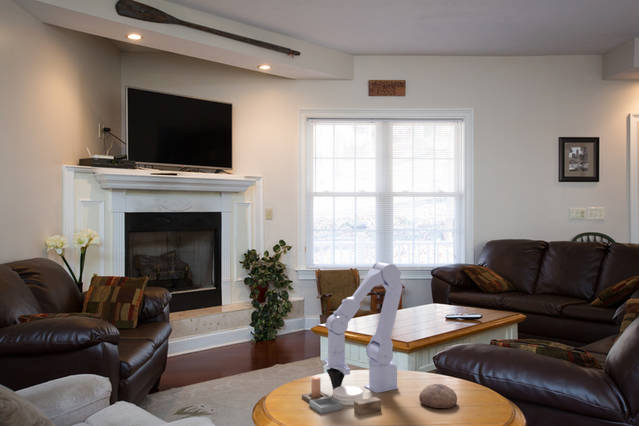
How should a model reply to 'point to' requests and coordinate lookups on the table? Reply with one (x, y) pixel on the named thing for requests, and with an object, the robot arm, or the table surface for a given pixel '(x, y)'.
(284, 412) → the table surface
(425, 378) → the table surface
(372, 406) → the brown rectangular block
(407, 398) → the table surface
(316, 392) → the dowel
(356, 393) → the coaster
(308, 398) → the collar
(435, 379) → the table surface
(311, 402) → the tray
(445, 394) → the decorative stone
